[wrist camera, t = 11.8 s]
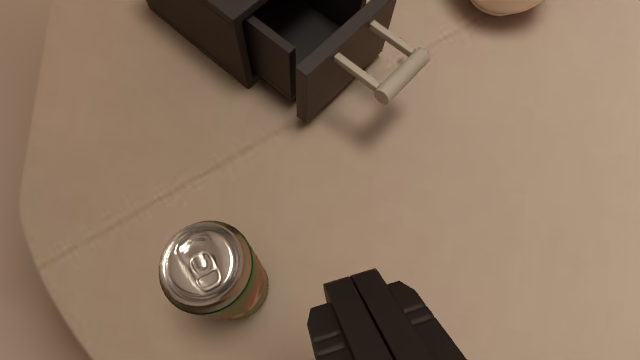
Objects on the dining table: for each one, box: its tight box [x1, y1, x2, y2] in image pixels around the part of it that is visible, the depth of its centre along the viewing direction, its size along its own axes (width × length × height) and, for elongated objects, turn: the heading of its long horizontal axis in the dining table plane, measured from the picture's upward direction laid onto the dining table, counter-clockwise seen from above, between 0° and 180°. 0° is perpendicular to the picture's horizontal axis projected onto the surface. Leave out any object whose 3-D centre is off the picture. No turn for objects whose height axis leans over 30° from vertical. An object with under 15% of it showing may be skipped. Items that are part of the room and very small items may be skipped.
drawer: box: [242, 0, 430, 123], centre depth 35 cm, size 19×11×7 cm, turn 48°
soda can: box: [159, 221, 269, 320], centre depth 26 cm, size 5×5×12 cm
